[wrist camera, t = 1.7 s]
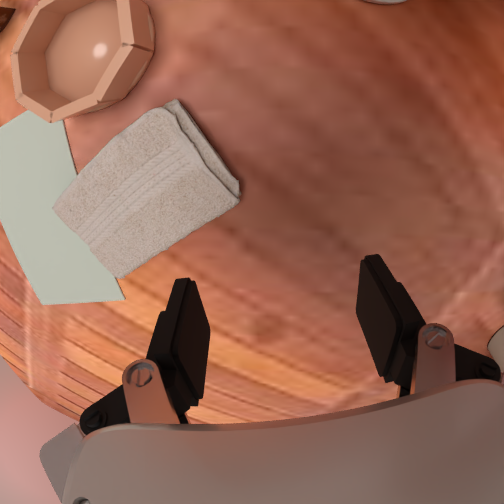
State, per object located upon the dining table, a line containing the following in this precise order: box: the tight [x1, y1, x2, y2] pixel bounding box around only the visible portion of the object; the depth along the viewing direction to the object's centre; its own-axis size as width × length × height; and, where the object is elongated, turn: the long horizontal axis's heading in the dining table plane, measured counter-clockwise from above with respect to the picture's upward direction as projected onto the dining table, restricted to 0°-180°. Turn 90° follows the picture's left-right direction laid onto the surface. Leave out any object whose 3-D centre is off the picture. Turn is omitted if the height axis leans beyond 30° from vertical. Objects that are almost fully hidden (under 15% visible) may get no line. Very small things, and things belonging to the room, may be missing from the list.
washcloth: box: [52, 99, 241, 279], centre depth 26 cm, size 12×18×3 cm, turn 124°
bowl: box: [11, 0, 155, 123], centre depth 17 cm, size 13×13×6 cm
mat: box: [0, 110, 125, 305], centre depth 28 cm, size 26×16×1 cm, turn 8°
